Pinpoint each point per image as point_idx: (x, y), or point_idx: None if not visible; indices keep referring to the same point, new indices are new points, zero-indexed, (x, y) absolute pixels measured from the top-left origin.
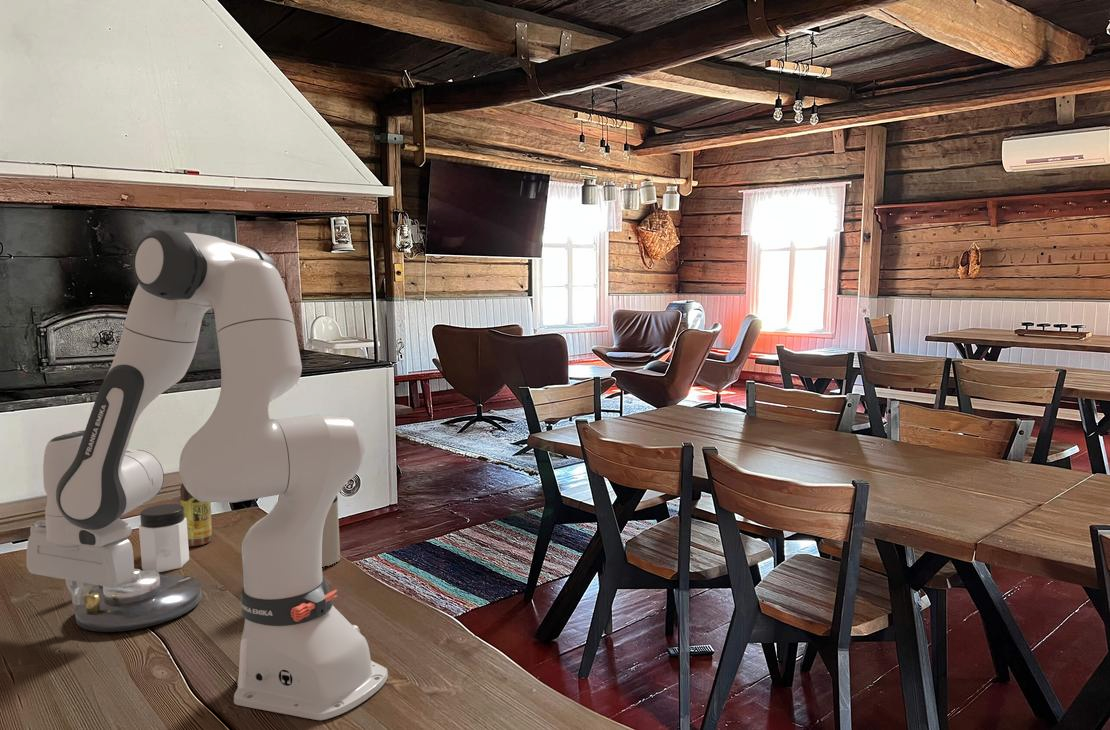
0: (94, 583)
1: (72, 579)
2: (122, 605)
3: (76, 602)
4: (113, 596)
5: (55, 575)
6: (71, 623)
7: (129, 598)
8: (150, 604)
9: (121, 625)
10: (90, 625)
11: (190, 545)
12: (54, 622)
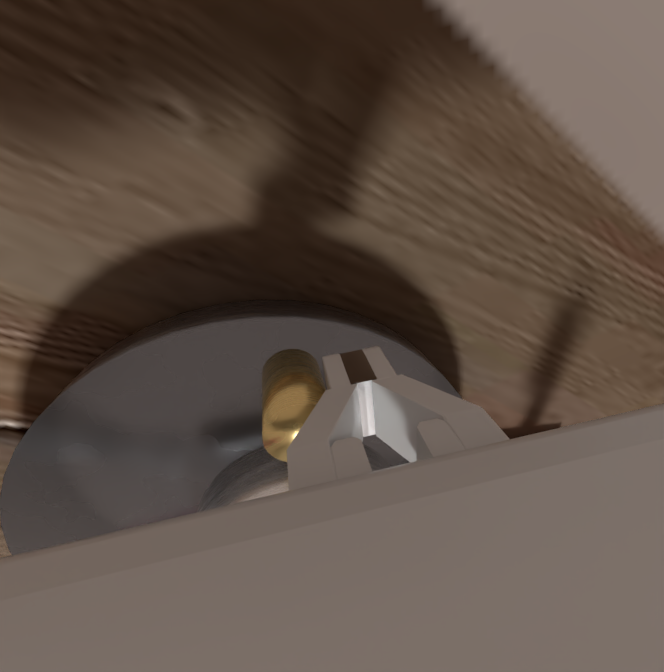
0: (8, 568)
1: (383, 480)
2: (235, 462)
3: (349, 356)
4: (272, 482)
5: (649, 428)
6: (401, 314)
7: (210, 506)
8: (142, 519)
9: (76, 378)
10: (223, 312)
11: None
12: (471, 288)
